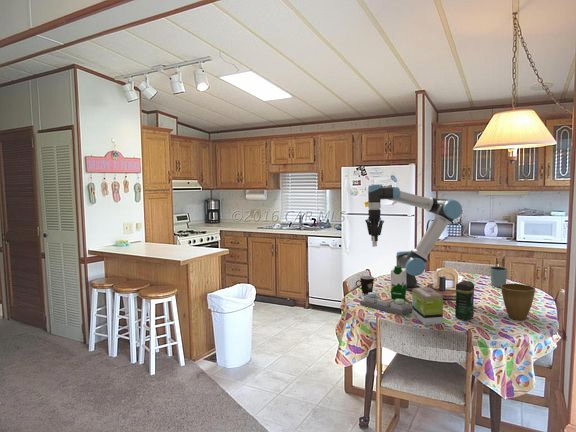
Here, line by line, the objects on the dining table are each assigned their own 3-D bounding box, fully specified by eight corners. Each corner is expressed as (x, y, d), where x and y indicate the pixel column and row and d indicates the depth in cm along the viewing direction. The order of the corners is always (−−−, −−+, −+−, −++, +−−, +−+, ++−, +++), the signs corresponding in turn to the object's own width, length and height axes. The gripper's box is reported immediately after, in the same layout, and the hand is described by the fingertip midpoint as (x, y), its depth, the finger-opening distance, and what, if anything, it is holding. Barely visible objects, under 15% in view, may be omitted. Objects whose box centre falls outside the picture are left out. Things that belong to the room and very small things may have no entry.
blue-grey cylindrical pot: (507, 285, 259) (508, 267, 258) (506, 289, 250) (507, 270, 249) (490, 283, 264) (490, 265, 263) (488, 287, 256) (489, 268, 255)
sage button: (405, 304, 213) (405, 299, 213) (400, 306, 210) (400, 301, 210) (398, 302, 217) (398, 298, 217) (393, 304, 214) (393, 300, 214)
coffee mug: (373, 290, 254) (373, 275, 253) (374, 294, 245) (374, 279, 244) (355, 290, 255) (354, 275, 254) (355, 294, 246) (355, 279, 246)
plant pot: (540, 318, 197) (541, 287, 196) (524, 325, 189) (525, 292, 188) (509, 311, 210) (510, 281, 208) (494, 316, 202) (494, 286, 200)
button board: (412, 311, 213) (412, 302, 213) (402, 315, 207) (402, 307, 206) (370, 300, 234) (370, 292, 234) (359, 304, 228) (359, 296, 227)
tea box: (411, 315, 207) (411, 287, 206) (430, 314, 208) (430, 286, 207) (423, 325, 192) (423, 295, 191) (443, 324, 193) (443, 294, 192)
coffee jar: (469, 321, 196) (469, 285, 194) (453, 318, 201) (453, 282, 200) (475, 316, 203) (476, 281, 201) (460, 313, 208) (460, 278, 207)
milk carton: (389, 300, 233) (389, 267, 232) (392, 296, 242) (392, 263, 240) (405, 301, 230) (405, 268, 228) (407, 297, 238) (407, 264, 236)
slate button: (378, 297, 227) (378, 293, 227) (373, 299, 224) (373, 295, 223) (371, 296, 230) (371, 291, 230) (366, 297, 227) (366, 293, 227)
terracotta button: (391, 303, 220) (391, 299, 220) (386, 305, 217) (386, 300, 217) (384, 301, 224) (384, 297, 224) (379, 303, 221) (379, 299, 220)
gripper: (362, 209, 249) (362, 246, 252) (379, 209, 240) (379, 248, 242) (369, 208, 254) (369, 244, 257) (386, 209, 245) (386, 246, 247)
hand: (374, 246), depth 249 cm, fingers closed
